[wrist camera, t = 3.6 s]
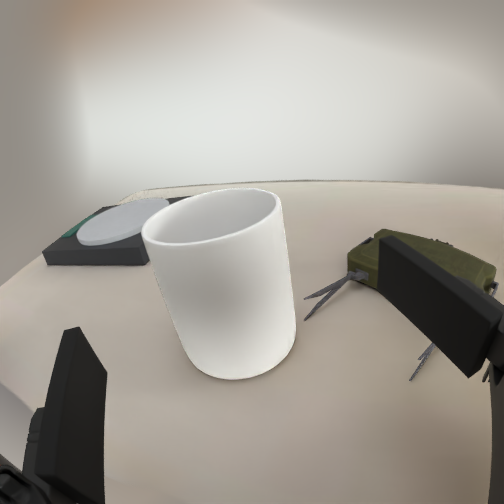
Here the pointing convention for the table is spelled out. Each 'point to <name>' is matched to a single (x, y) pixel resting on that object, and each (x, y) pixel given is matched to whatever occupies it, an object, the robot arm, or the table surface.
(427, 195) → the table surface
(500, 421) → the robot arm
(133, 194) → the table surface
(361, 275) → the landmine
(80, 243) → the scale
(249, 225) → the mug
